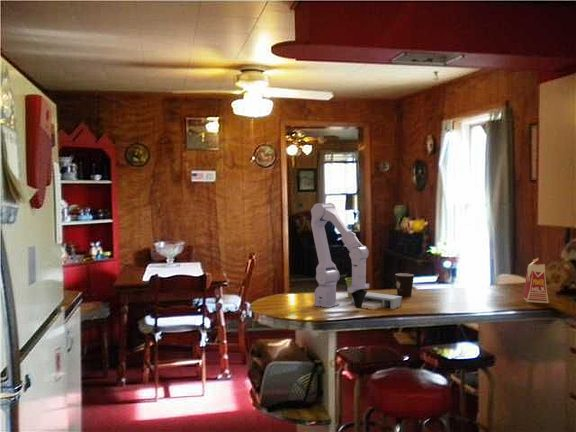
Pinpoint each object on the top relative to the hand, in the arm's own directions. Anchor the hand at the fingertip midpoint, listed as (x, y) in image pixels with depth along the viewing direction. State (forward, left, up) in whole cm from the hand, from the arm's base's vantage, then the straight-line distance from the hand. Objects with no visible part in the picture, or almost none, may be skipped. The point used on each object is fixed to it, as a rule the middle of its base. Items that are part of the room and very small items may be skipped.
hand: (358, 307), depth 237 cm
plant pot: (+24, +16, -1) cm, 29 cm away
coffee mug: (+44, +1, -1) cm, 44 cm away
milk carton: (+70, -52, -1) cm, 87 cm away
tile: (+11, -1, -2) cm, 12 cm away
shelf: (+16, 0, -1) cm, 16 cm away
